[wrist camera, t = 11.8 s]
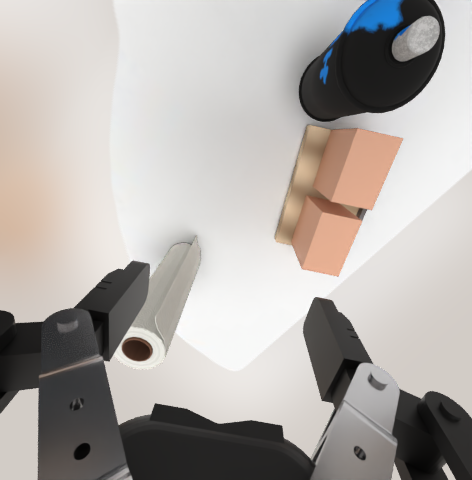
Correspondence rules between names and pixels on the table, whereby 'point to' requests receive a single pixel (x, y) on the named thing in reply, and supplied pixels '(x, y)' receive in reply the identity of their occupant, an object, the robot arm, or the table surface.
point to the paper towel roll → (160, 308)
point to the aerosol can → (375, 60)
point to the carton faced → (355, 166)
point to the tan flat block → (306, 183)
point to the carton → (324, 235)
